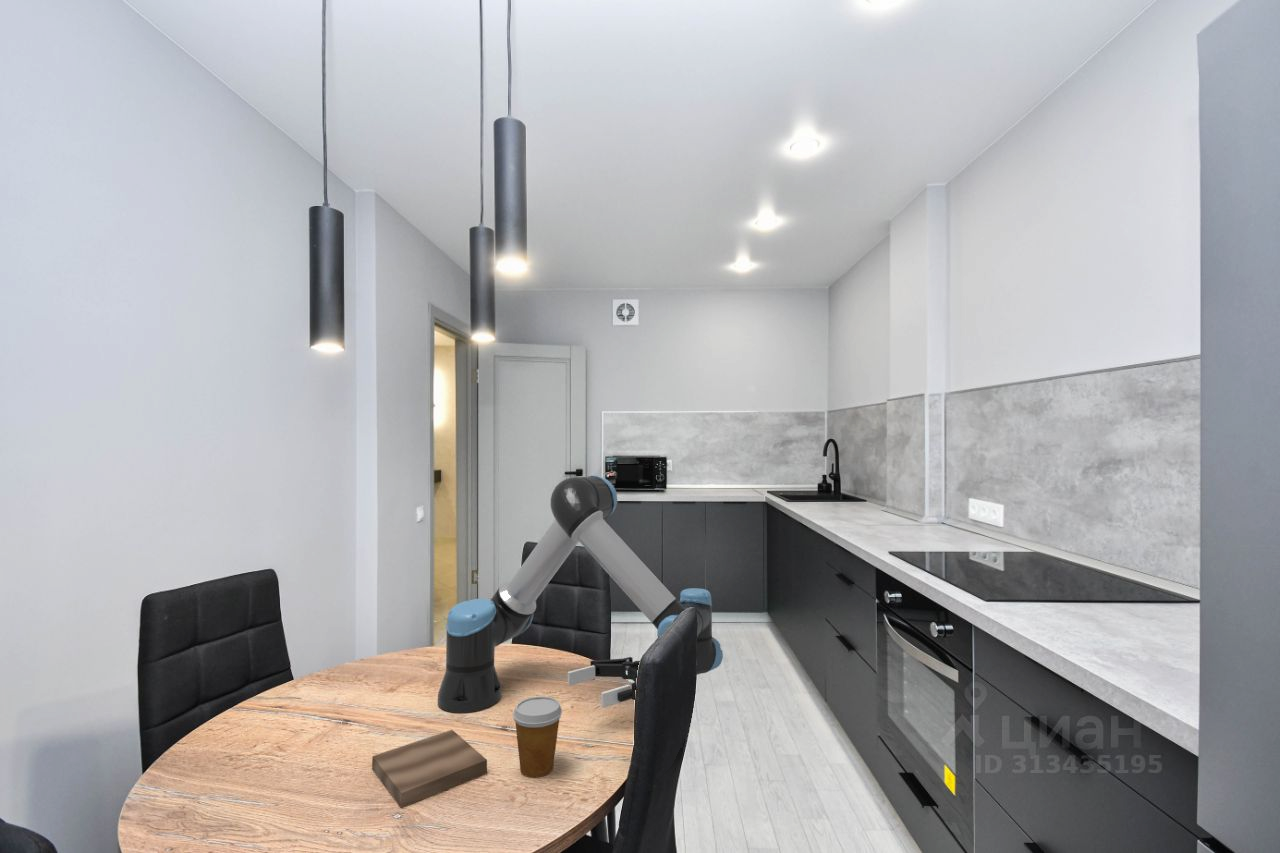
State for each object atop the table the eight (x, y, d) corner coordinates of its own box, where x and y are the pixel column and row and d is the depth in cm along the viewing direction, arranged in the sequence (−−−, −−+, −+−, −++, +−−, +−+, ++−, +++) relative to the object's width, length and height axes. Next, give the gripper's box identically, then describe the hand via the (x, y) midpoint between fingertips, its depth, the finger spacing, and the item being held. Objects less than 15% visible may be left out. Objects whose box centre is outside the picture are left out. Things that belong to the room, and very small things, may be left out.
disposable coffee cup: (569, 760, 111) (570, 699, 112) (546, 787, 102) (547, 720, 103) (527, 752, 115) (528, 692, 115) (502, 777, 106) (503, 712, 106)
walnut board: (372, 769, 108) (372, 756, 108) (451, 741, 119) (452, 729, 119) (401, 807, 96) (401, 793, 96) (486, 773, 107) (487, 759, 107)
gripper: (702, 701, 117) (618, 731, 104) (633, 666, 137) (556, 688, 124) (701, 664, 117) (618, 689, 105) (633, 635, 137) (556, 653, 125)
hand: (584, 689), depth 115 cm, fingers open, 13 cm apart
